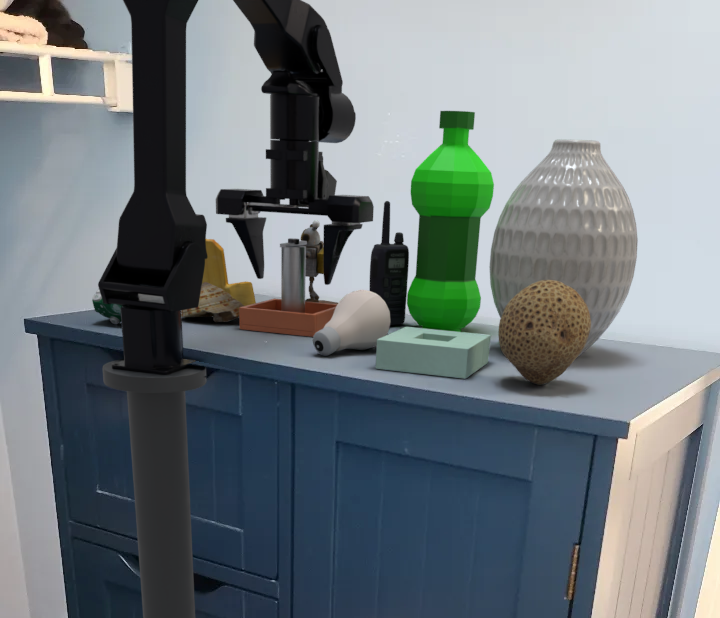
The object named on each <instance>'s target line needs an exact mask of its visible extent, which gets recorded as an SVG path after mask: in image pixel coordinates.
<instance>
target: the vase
mask: <svg viewBox="0 0 720 618" xmlns="http://www.w3.org/2000/svg"><path fill="white" fill-rule="evenodd" d="M638 240H639V239H638V230H637V222H636V218H635V213H634V208H633V206H632V202H631V199H630V197H629V196H628V193H627V191H626V190H625V188H624V186H623V184H622V183H621V181H620V179H619V178H618V176H617V175H616V174H615V172H614V171H613V169H612V168H611V166H610V165H609V163H608V162H607V161H606V159H605V158H604V156H603V154H602V150H601V142H600V141H598V140H592V139H591V140H587V139H562V138H561V139H555V140H554V141H553V142H552V146H551V149H550V151H549V152H548V154H547V155H546V156H545V157H544V158H543V159H542V160H540V162H539V163H538V164H537V165H536V166H535V167H534V168H533V169H532V170H531V171H530V172H529V173H528V174H527V175H526V176H525V177H524V178H523V179H522V180H521V181H520V182H519V183H518V185H517V186H516V188H515V189H514V190H513V191H512V192H511V195H510V196H509V198H508V200H507V201H506V203H505V205H504V206H503V209H502V211H501V213H500V216H499V218H498V220H497V224H496V226H495V229H494V231H493V237H492V241H491V247H490V256H489V266H488V267H489V284H490V288H491V289H490V290H491V295H492V300H493V304H494V307H495V308H496V310H497V313H498V316H499V318H500V319H501V317H502V315H503V312H504V309H505V307H506V305H507V304H508V303H509V301H510V300H511V299H512V298H513V297H514V296H515V295H516V294H518V293H519V292H520V291H521V290H523V289H524V288H526V287H528V286H529V285H531V284H533V283H536V282H538V281H542V280H555V281H559V282H562V283H563V284H565V285H567V286H569V287H571V288H573V289H574V290H575V291H576V292H577V293H578V294H579V295H580V296H581V298H582V299H583V300H584V302H585V303H586V305H587V307H588V310H589V313H590V319H591V328H590V333H589V336H588V339H587V341H586V344H585V346H584V348H583V349H582V351H581V352H580V354H579V355H578V357H580V356H581V355H582V354H583V353H585V352H586V351H587V350H588V349H590V347H591V346H593V345H594V344H595V343H596V342H597V341H598V340H599V339H600V338H601V337H602V335H603V334H604V333H605V332H606V331H607V329H608V328H609V327H610V326H611V324H613V322H614V320H615V319H616V318H617V316H618V315H619V313H620V312H621V309H622V307H623V306H624V303H625V301H626V299H627V297H628V295H629V292H630V289H631V286H632V283H633V279H634V276H635V271H636V264H637V260H638V259H637V258H638V242H639V241H638Z"/></svg>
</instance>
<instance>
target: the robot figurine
mask: <svg viewBox="0 0 720 618" xmlns="http://www.w3.org/2000/svg"><path fill="white" fill-rule="evenodd" d="M320 224H321V223H320V221H319V220H317V219H315V220H313V221H312V224H310V225H309V227H307V228H305V229H304V230H303V231H302V233H301V235H300V241H307V244H306V245H302V246H306V274H305V278H306V277H307V278H308V280H309V285H308V293H309V298H307V299H305V301H307V302H317V303H328V304H338V303H339V302H336V301H331V300H324V299H320V296H319V295H318V293H317V292H316V291H315V290H314V286H313V285H314V281H315V278H317V277H318V276H319V275H324V274H323V250H324V240H321V235H320V233H319V231H318V228H319V227H321V225H320Z"/></svg>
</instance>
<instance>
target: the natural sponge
mask: <svg viewBox="0 0 720 618" xmlns="http://www.w3.org/2000/svg"><path fill="white" fill-rule="evenodd" d="M590 328H591V319H590V313H589V310H588V307H587V305H586V303H585V302H584V300H583V299H582V298H581V296H580V295H579V294H578V293H577V292H576V291H575V290H574V289H573V288H571V287H569V286H567V285H565V284H563V283H562V282H559V281H555V280H542V281H538V282H536V283H533V284H531V285H529V286H528V287H526V288H524V289H523V290H521V291H520V292H519V293H518V294H516V295H515V296H514V297H513V298H512V299H511V300H510V301H509V303H508V304H507V305H506V307H505V309H504V312H503V315H502V317H501V318H500V319H499V323H498V332H497V333H498V334H497V335H498V344H499V347H500V351H501V352H502V354H503V355H504V357H505V358H506V359H507V361H509V362H510V363H511V365H512V366H513V367H514V368H515V370H517V372H518V373H519V374H520V376H522V377H523V378H524V379H525V380H527V382H529V383H531V384H533V385H538V386H540V385H545V384H549V383H551V382H553V381H554V380H556V379H557V378H559V377H560V376H562V375H563V374H564V373H565V372H566V371H567V370H568V369H569V368H570V367H571V365H572V364H573V363H574V362H575V360H576V359H577V358H578V357H579V356H578V355H579V354H580V352H581V351H582V349H583V348H584V346H585V344H586V341H587V339H588V336H589V333H590Z"/></svg>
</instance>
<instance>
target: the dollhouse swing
mask: <svg viewBox="0 0 720 618" xmlns="http://www.w3.org/2000/svg"><path fill="white" fill-rule="evenodd" d="M206 251H207V256H208V258H207V259H205V268H204V274H203V280H202V283H204V282H207V283H210V284H212V285H215V286H217V287H219V288H221V289H223V290H224V292H227V293H229V294H230V295H231V296H232V297H233V298H234V299H236V300H238V301H239V302H241V303H242V305H244V306H247V305H251V304H255V303H257V301H256V296H255V292H254V286H253V283H252V282H251V281H240V282H234V283H233V282H232V283H229V279H228V278H229V277H228V270H227V265H226V256H225V249H224V248H223V247H222V245H220V243H219V242H217V241H216V240H215V239H214V238H213V239H212V238H206Z"/></svg>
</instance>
